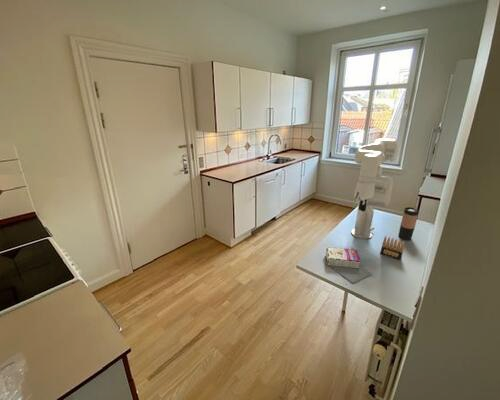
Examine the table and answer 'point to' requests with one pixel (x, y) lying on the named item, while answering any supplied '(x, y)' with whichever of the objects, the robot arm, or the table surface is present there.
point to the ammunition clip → (392, 249)
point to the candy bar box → (342, 257)
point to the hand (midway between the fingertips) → (361, 210)
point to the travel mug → (408, 223)
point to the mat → (352, 273)
